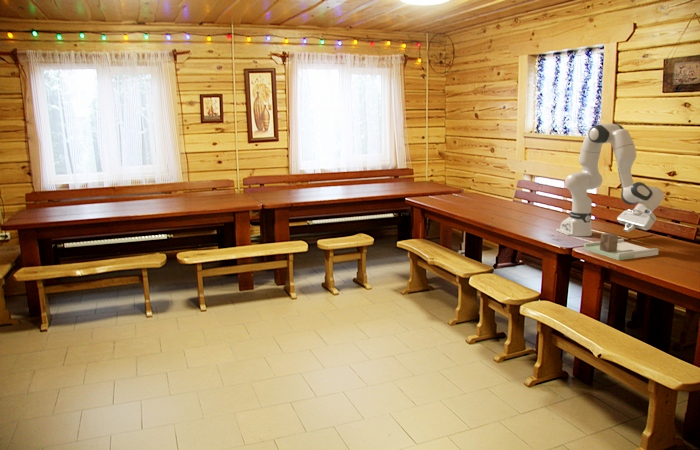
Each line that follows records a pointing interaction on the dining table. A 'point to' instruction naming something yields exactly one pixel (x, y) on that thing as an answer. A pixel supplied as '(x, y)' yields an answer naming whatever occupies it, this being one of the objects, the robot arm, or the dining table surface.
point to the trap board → (622, 250)
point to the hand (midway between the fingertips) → (626, 231)
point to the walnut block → (608, 242)
